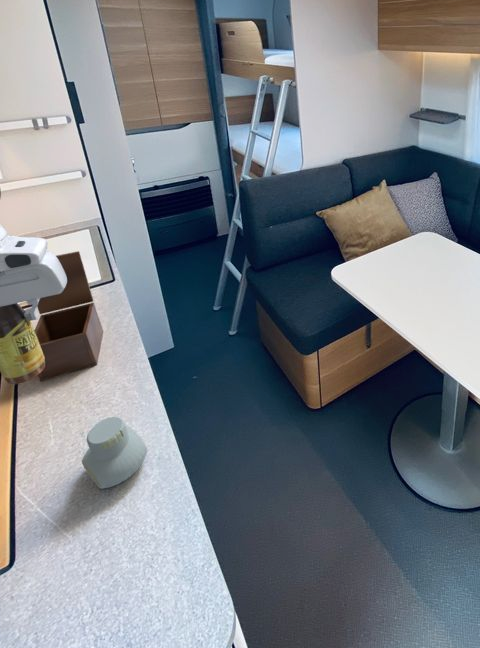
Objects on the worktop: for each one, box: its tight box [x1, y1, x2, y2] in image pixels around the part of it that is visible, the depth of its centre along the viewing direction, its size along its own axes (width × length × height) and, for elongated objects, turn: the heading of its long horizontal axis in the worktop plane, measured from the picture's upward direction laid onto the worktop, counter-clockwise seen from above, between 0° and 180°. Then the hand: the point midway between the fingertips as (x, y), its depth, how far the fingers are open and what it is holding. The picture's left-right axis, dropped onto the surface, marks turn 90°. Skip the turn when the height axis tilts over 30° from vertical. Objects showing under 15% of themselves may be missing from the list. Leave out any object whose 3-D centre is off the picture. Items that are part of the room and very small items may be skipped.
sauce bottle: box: [0, 303, 45, 385], centre depth 73 cm, size 6×6×20 cm
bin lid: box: [36, 250, 94, 315], centre depth 107 cm, size 14×12×5 cm
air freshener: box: [81, 416, 148, 489], centre depth 76 cm, size 11×8×10 cm
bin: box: [34, 302, 104, 382], centre depth 103 cm, size 14×12×10 cm
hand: (7, 324), depth 73 cm, fingers closed on sauce bottle, 6 cm apart
